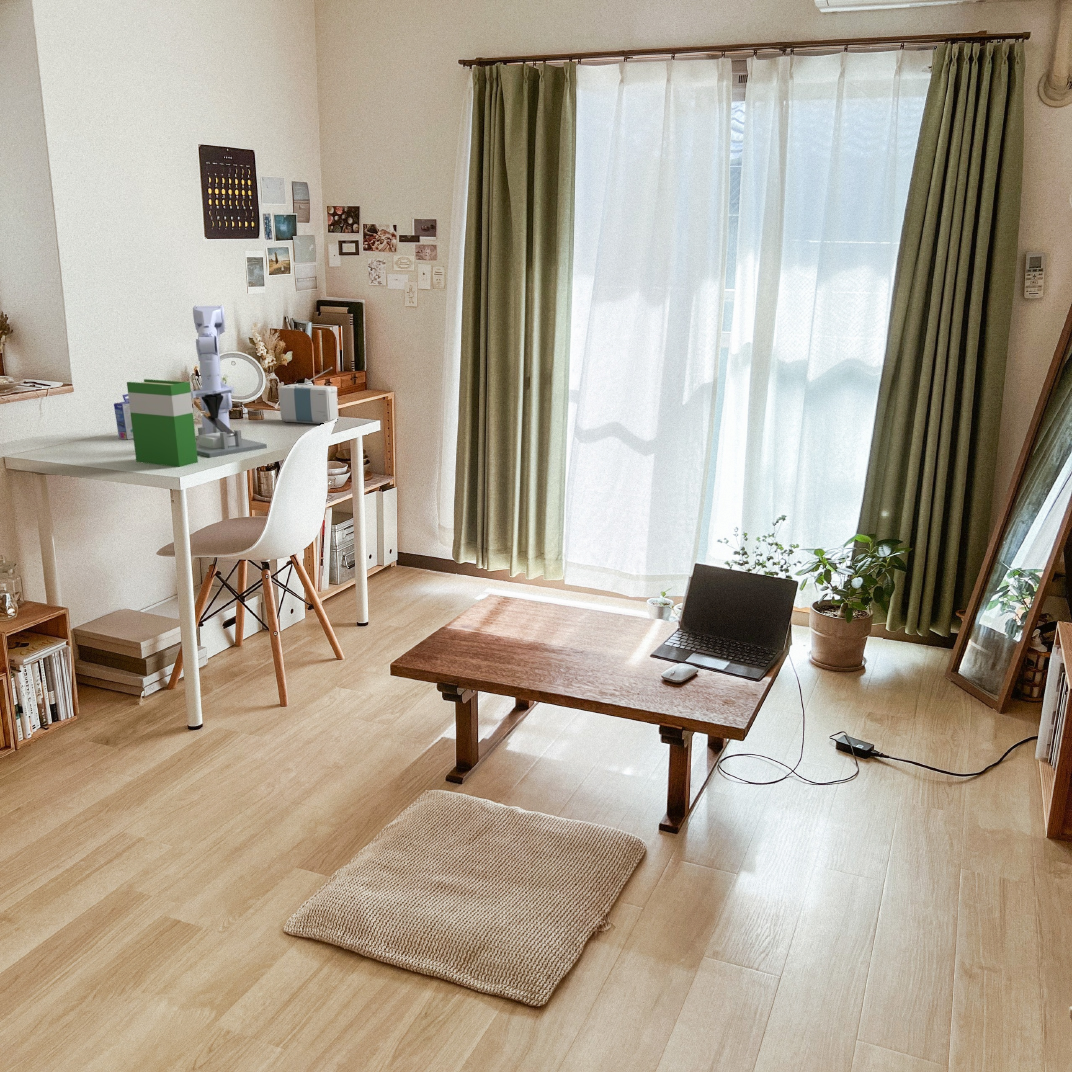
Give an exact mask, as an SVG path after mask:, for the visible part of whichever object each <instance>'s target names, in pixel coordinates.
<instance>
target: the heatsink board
mask: <svg viewBox="0 0 1072 1072" xmlns="http://www.w3.org/2000/svg"><path fill="white" fill-rule="evenodd" d="M197 431H198V433H197V434H198V435H197V440H196V448H197V455H199V456H202V457H207V458H215V457H220V456H227V455H232V454H238V453H244V452H250V451H256V450H261V449H267V446H268V445H267V443H264V442H259V441H256V440H255V441H254V440H251V439H245V438H242V437H243V436H242V431H241V429H235V430H233V432H234V433H236V436H233V437H227V433H226V432H221V431H220V430H219V429H217V428H216V427H215V426H214V425H213V433H211V434H206V430H205V428H204V427H202V426H201V427H197Z"/></svg>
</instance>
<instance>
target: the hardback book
mask: <svg viewBox="0 0 1072 1072" xmlns="http://www.w3.org/2000/svg"><path fill="white" fill-rule="evenodd" d="M126 386H127V394H128V396H127V397H128V398H129V405H130V413H131V422H132V430H133V446H134V452H135V454H134V455H135V461H136V463H141V462H143V463H142V464H150V465H151V464H152V465H160V466H168V467H174V468H175V467H177V468H181V467H185V466H190V465H193V464H196V463H198V462H199V460H198V459H199V457H198V454H197V448H196V441H197V440H196V439H197V438H196V431H195V421H194V420H195V419H194V412H193V411H194V409H193V401H192V398H191V391H192V389H191V383H190V381H175V380H166V379H165V380H162V379H161V380H160V379H149V378H146V379H145V378H144V379H143V382H136V381H127V382H126Z"/></svg>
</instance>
